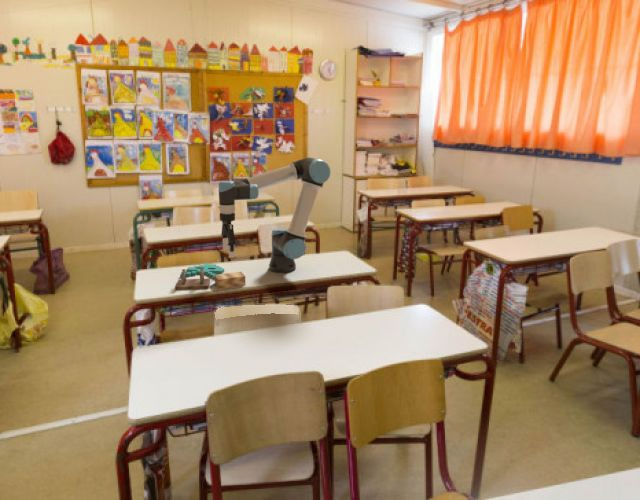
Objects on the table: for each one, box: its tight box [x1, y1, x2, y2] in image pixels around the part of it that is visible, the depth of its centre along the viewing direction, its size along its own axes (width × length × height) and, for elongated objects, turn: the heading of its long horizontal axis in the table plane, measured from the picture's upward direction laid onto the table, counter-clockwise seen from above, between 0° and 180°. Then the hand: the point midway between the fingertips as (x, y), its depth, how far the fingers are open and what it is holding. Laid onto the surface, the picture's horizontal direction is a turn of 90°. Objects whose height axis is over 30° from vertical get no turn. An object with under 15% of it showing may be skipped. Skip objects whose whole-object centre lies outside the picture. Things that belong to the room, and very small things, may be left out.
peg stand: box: [175, 268, 211, 291], centre depth 247 cm, size 16×11×8 cm
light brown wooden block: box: [214, 271, 247, 289], centre depth 250 cm, size 14×8×5 cm, turn 114°
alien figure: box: [179, 263, 225, 280], centre depth 267 cm, size 20×2×20 cm
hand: (228, 253), depth 246 cm, fingers open, 13 cm apart
